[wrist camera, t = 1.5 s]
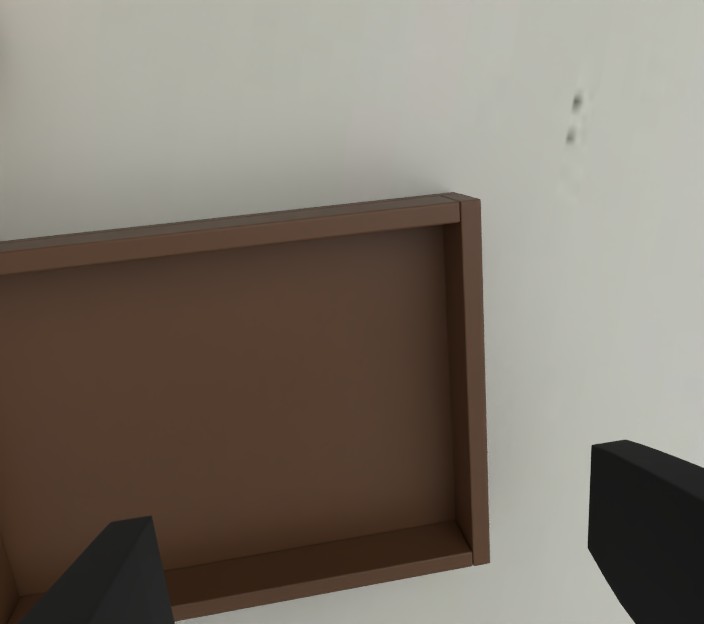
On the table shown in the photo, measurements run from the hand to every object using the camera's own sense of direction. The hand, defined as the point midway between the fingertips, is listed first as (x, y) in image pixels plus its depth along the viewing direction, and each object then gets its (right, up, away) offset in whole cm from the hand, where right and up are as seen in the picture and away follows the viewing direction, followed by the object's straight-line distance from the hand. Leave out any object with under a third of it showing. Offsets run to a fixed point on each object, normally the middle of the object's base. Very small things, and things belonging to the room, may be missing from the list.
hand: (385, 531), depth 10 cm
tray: (-5, 0, +10) cm, 11 cm away
